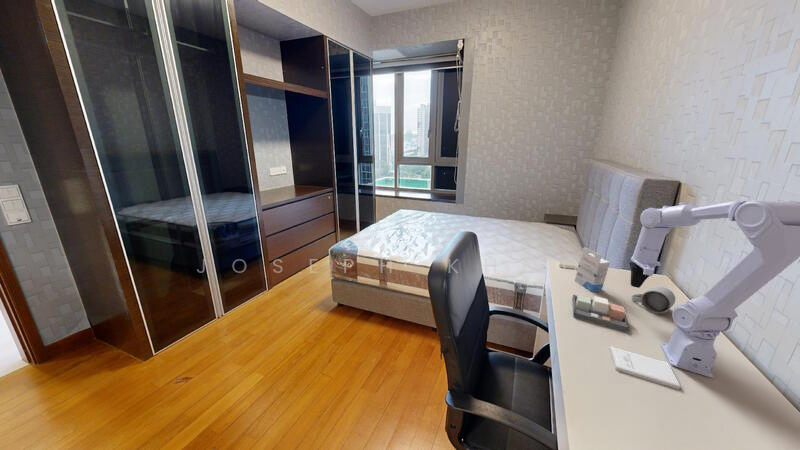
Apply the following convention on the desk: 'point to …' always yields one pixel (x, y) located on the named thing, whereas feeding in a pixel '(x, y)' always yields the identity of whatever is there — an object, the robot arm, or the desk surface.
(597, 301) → the key cream
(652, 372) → the external hard drive
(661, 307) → the ceramic mug
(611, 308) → the key terracotta
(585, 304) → the key sage
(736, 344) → the desk surface
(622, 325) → the keypad
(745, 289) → the robot arm
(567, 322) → the desk surface
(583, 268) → the ink box
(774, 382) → the desk surface
